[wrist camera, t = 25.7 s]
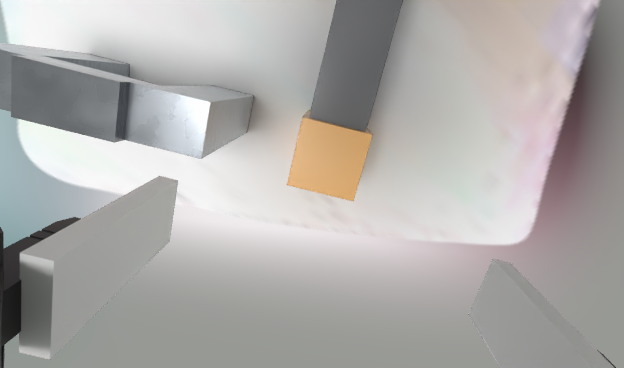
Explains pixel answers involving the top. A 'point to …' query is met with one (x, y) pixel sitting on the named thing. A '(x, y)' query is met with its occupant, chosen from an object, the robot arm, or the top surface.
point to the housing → (117, 102)
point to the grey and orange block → (344, 99)
